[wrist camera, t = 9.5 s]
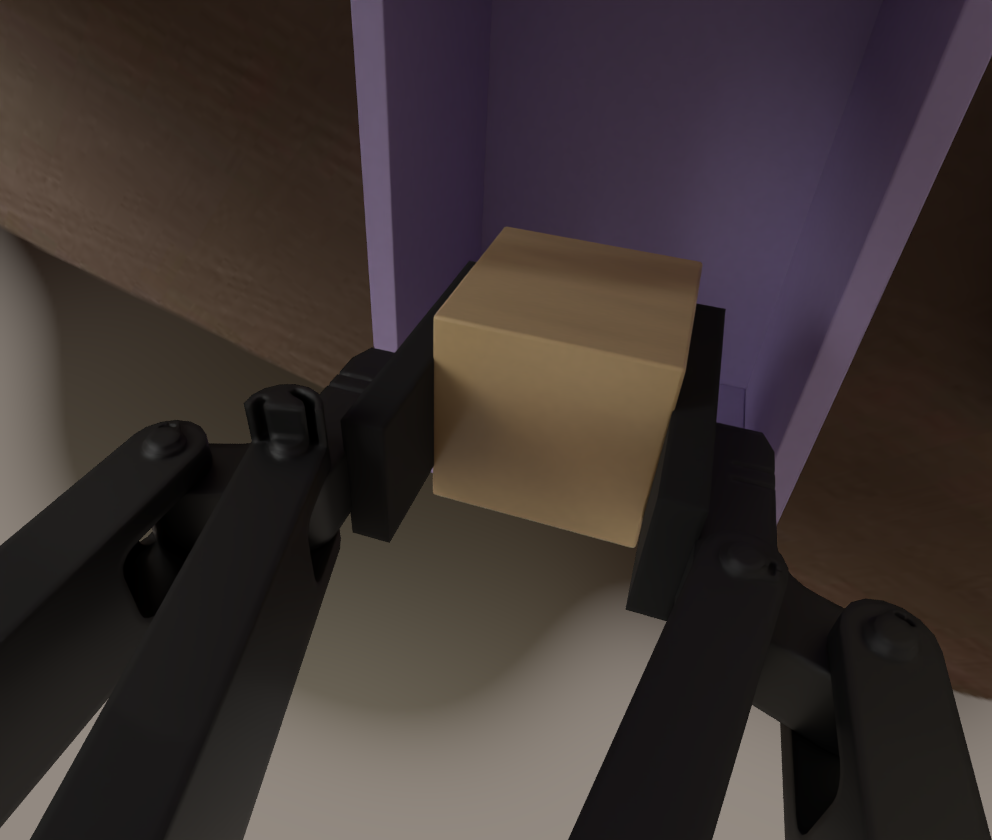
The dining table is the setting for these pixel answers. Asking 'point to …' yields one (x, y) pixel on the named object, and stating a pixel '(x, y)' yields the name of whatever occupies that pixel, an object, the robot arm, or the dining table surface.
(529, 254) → the beech block
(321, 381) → the dining table surface
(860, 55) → the box
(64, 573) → the robot arm
